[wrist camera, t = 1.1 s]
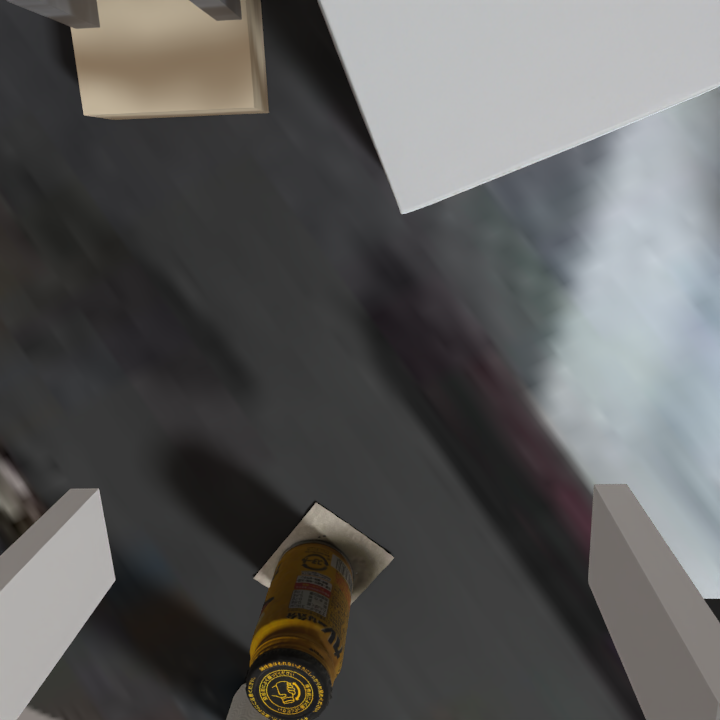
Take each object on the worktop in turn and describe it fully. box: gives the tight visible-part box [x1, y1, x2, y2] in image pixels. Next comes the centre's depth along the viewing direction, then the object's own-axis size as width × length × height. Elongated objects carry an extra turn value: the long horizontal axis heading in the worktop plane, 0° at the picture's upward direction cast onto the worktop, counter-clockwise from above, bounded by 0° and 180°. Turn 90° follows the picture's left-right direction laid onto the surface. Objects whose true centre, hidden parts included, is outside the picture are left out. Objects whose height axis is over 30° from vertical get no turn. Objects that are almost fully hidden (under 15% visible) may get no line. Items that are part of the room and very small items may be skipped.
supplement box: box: [317, 0, 720, 214], centre depth 30 cm, size 13×13×18 cm
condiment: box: [245, 503, 394, 720], centre depth 44 cm, size 7×8×12 cm
